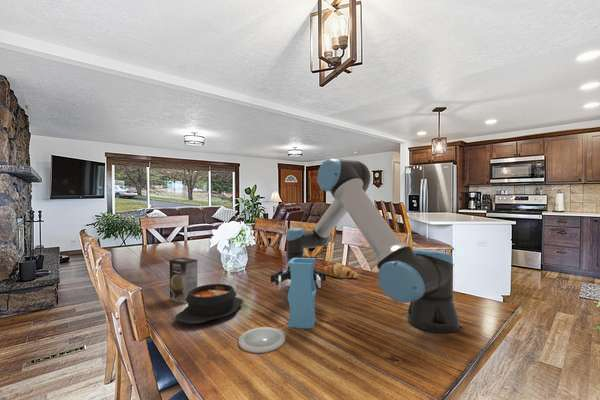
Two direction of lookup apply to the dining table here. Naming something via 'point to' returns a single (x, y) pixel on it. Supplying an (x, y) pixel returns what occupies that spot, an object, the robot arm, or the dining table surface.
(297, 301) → the vase
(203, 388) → the dining table surface
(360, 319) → the dining table surface
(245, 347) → the plate
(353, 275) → the croissant
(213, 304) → the casserole
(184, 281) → the coffee box
